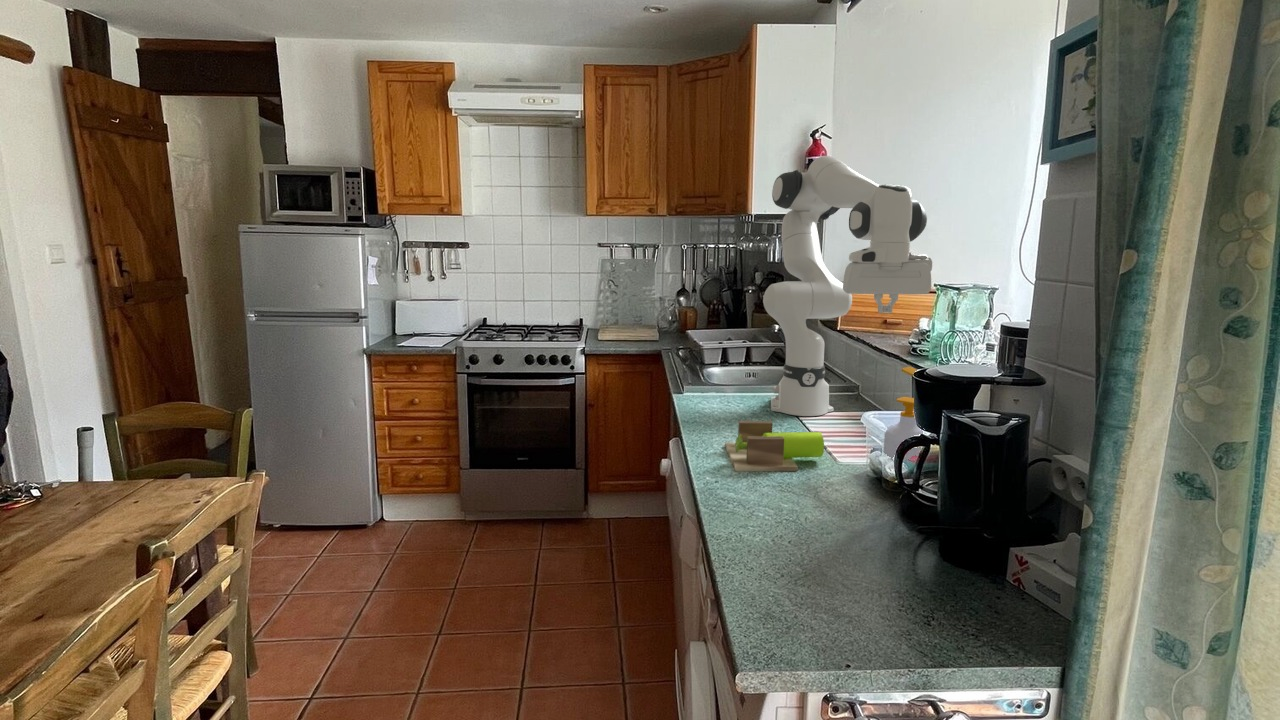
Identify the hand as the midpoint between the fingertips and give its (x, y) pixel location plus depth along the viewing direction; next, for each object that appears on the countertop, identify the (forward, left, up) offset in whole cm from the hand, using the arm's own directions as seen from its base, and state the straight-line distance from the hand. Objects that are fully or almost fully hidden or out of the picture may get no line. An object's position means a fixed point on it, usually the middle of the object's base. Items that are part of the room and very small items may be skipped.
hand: (884, 312), depth 162 cm
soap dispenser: (+10, -16, -30) cm, 35 cm away
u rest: (+8, -30, -34) cm, 46 cm away
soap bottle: (+22, -1, -34) cm, 40 cm away
